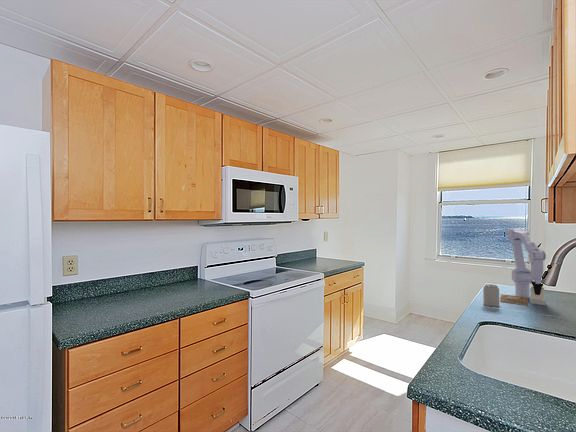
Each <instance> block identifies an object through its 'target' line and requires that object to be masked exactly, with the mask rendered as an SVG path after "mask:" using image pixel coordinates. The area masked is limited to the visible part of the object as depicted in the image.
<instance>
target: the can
mask: <svg viewBox="0 0 576 432" xmlns="http://www.w3.org/2000/svg"><path fill="white" fill-rule="evenodd" d="M482 289H483V291H482V292H483V295H482V296H483V305H485V306H486V307H488V308H498V307H500V288H499V287H498V285H497V284H493V283H492V284H489V283H485V284H484V286H483V288H482Z"/></svg>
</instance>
